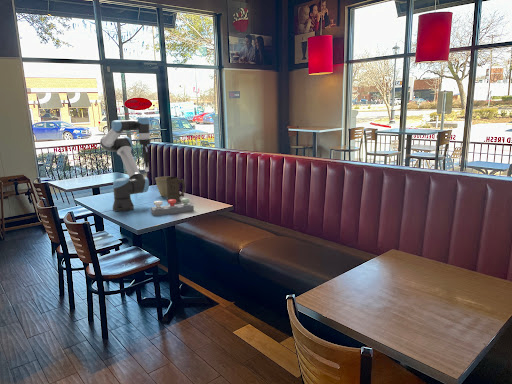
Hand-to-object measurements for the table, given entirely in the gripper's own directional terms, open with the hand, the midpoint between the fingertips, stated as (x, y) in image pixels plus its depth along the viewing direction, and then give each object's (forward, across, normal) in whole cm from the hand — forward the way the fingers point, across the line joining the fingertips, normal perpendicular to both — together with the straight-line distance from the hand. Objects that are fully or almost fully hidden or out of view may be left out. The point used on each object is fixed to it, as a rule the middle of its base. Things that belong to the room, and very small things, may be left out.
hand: (146, 171), depth 273 cm
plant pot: (+30, +47, -21) cm, 60 cm away
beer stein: (+30, +23, -26) cm, 45 cm away
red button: (+25, -13, -14) cm, 31 cm away
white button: (+25, -13, -4) cm, 28 cm away
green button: (+25, -13, -24) cm, 37 cm away
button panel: (+29, -13, -14) cm, 35 cm away
